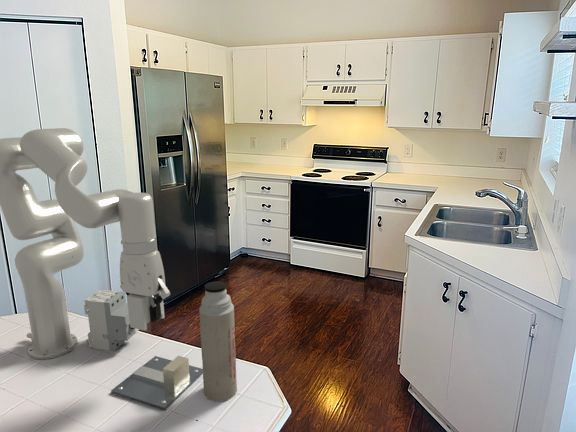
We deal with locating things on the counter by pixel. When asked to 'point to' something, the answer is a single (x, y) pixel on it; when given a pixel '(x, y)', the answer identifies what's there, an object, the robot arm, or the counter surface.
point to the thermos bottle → (218, 343)
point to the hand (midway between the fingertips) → (147, 317)
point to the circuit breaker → (108, 320)
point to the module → (140, 311)
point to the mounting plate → (159, 382)
